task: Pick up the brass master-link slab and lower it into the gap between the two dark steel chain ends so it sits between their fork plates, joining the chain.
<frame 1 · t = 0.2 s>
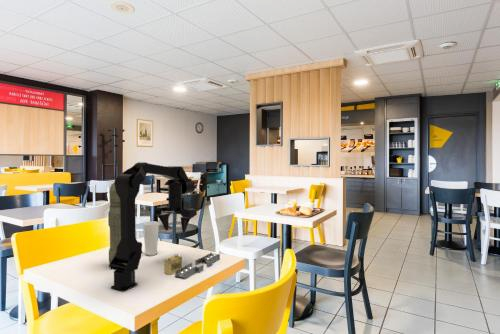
hand: (175, 231, 132), 14 cm above the table, fingers open, 9 cm apart
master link: (173, 271, 123), on the table
chain end a: (186, 274, 119), on the table
chain end b: (210, 261, 135), on the table
drinking glass: (151, 254, 145), on the table
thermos: (120, 265, 130), on the table
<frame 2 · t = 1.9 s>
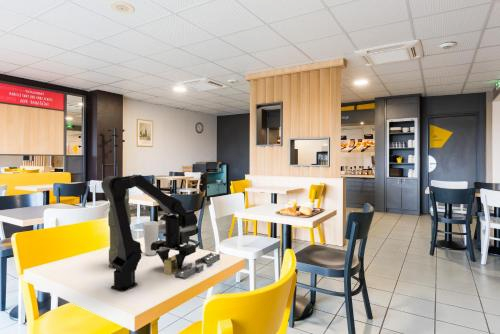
hand: (173, 268, 123), 1 cm above the table, fingers open, 6 cm apart
nothing on the table moved.
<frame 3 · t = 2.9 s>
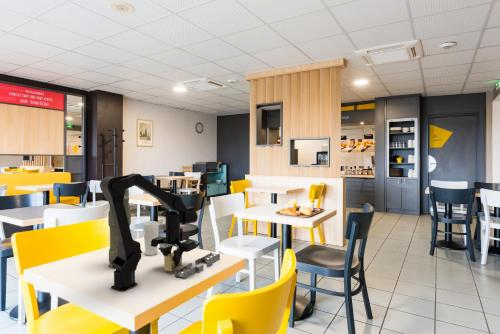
hand: (173, 265, 123), 3 cm above the table, fingers closed on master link, 3 cm apart
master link: (173, 267, 123), point 1 cm above the table, touching gripper
everything else where it was.
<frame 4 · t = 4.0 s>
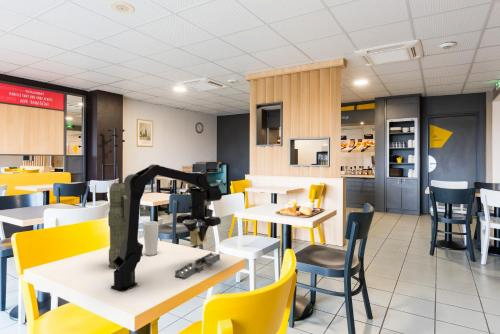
hand: (198, 240, 127), 11 cm above the table, fingers closed on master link, 3 cm apart
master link: (198, 242, 127), point 10 cm above the table, touching gripper
everything else where it was.
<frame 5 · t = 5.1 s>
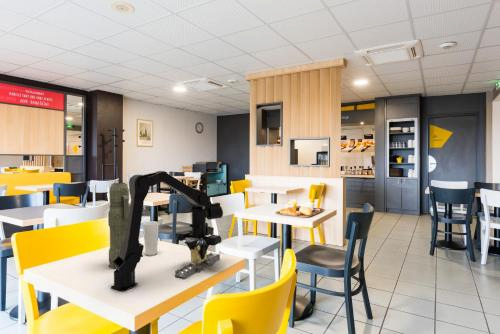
hand: (199, 258, 127), 4 cm above the table, fingers closed on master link, 3 cm apart
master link: (199, 260, 127), point 3 cm above the table, touching gripper
everything else where it was.
when the fingers open (2 cm above the table, at t = 5.6 s): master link drops 1 cm, on the table.
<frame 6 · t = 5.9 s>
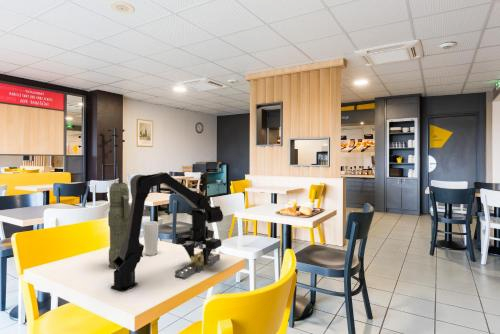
hand: (199, 262, 127), 2 cm above the table, fingers open, 6 cm apart
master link: (199, 267, 127), on the table
everything else where it was.
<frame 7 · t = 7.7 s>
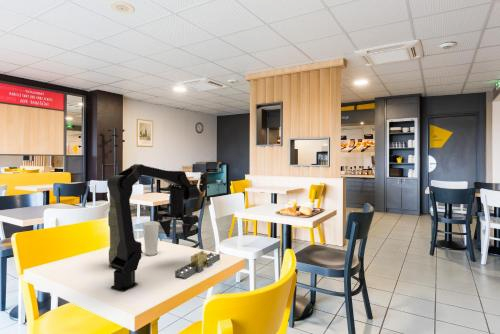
hand: (176, 238, 127), 12 cm above the table, fingers open, 9 cm apart
nothing on the table moved.
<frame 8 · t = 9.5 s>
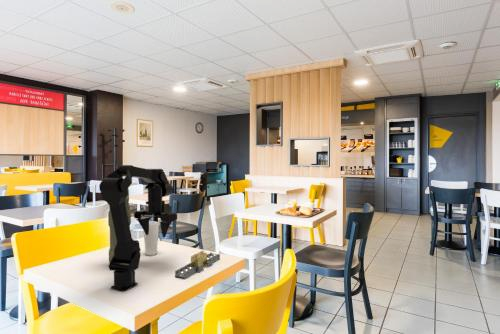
hand: (155, 235, 128), 13 cm above the table, fingers open, 9 cm apart
nothing on the table moved.
at the end: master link 0.1 cm from the target spot, on the table; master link tilted 0°; the gripper is holding nothing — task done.
